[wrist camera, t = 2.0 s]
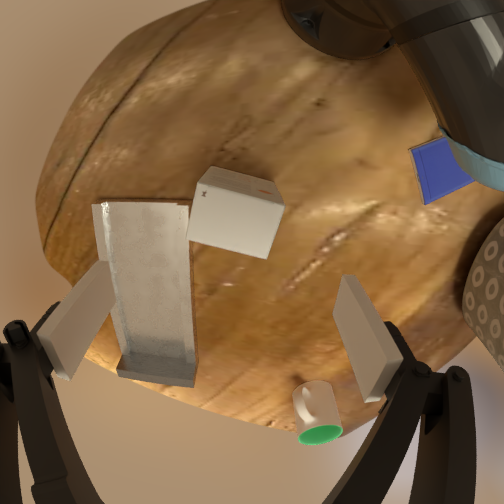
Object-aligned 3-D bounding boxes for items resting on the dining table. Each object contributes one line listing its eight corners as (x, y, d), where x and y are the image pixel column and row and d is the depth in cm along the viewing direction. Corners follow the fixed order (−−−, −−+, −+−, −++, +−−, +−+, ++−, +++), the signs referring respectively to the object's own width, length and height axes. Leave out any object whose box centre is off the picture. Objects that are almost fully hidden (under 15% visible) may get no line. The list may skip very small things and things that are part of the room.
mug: (273, 382, 49) (276, 429, 40) (310, 364, 47) (320, 411, 38) (304, 407, 53) (311, 448, 44) (338, 392, 51) (349, 433, 42)
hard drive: (472, 127, 28) (412, 150, 31) (482, 178, 32) (425, 206, 34) (465, 126, 30) (406, 148, 32) (475, 175, 33) (420, 202, 35)
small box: (200, 207, 35) (182, 240, 25) (211, 163, 33) (195, 180, 23) (262, 223, 36) (267, 262, 26) (275, 181, 34) (286, 205, 24)
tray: (100, 198, 34) (78, 212, 29) (192, 200, 34) (181, 215, 29) (128, 352, 46) (118, 376, 40) (198, 361, 46) (193, 387, 41)
